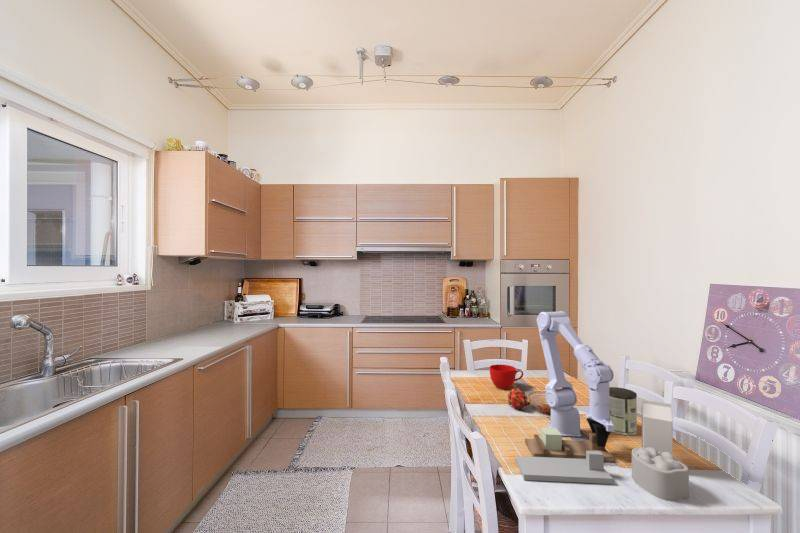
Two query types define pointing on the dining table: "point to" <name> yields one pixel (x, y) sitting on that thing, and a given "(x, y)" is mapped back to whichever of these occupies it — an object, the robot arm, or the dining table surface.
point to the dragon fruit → (517, 399)
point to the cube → (551, 438)
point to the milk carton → (657, 426)
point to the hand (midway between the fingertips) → (599, 444)
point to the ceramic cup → (503, 375)
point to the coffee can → (623, 410)
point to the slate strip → (565, 469)
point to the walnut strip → (567, 448)
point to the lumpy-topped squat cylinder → (660, 474)
